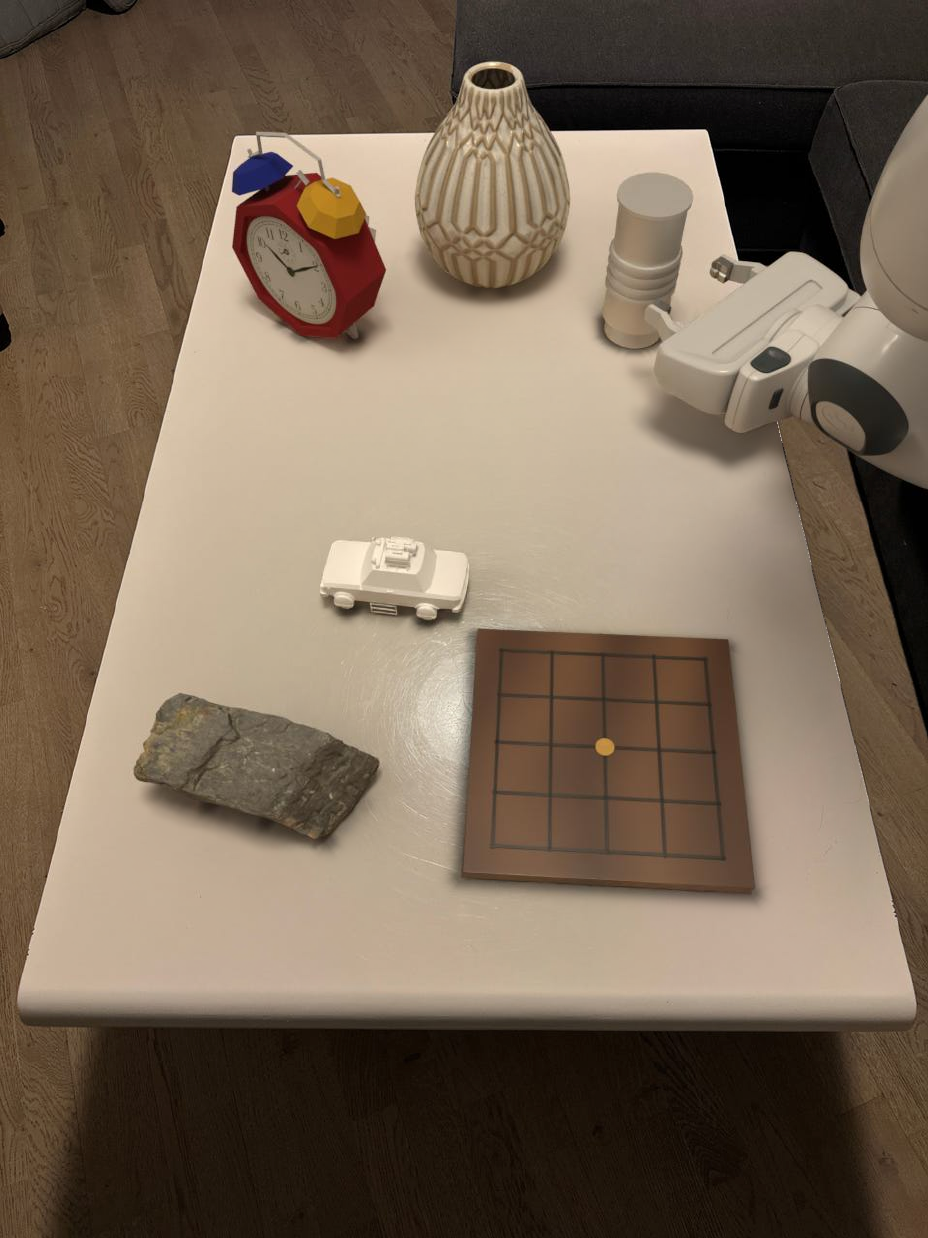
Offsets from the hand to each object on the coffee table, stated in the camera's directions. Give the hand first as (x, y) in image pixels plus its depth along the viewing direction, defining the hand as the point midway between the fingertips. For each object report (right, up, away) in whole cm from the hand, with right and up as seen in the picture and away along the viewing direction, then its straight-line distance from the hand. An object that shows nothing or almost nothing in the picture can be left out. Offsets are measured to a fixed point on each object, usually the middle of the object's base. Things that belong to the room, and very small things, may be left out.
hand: (683, 285), depth 88 cm
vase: (-17, +8, +15) cm, 24 cm away
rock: (-35, -44, -18) cm, 59 cm away
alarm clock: (-35, +1, +11) cm, 37 cm away
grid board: (-10, -41, -17) cm, 46 cm away
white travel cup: (-3, -1, +9) cm, 10 cm away
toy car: (-26, -29, -8) cm, 40 cm away
